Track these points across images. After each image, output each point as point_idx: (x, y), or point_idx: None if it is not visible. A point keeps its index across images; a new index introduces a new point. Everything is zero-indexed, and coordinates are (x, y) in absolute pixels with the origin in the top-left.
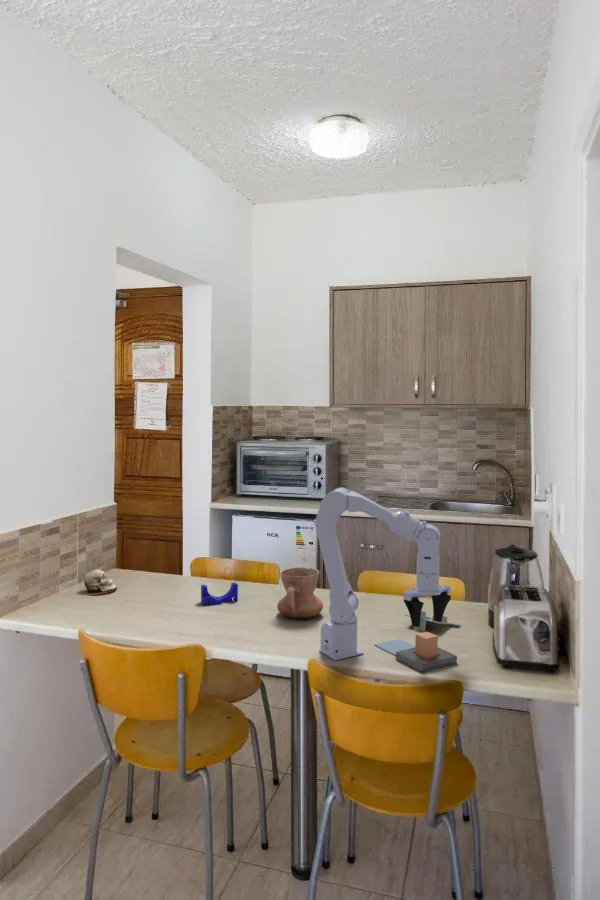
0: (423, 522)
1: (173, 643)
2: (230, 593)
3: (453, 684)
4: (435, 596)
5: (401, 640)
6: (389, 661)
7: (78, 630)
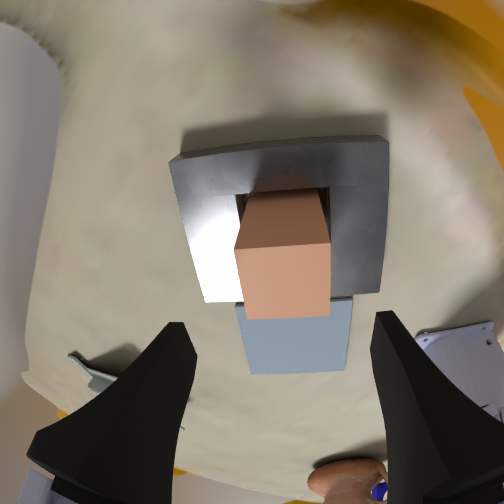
0: None
1: None
2: (385, 492)
3: None
4: (150, 497)
5: (254, 365)
6: (401, 269)
7: None
